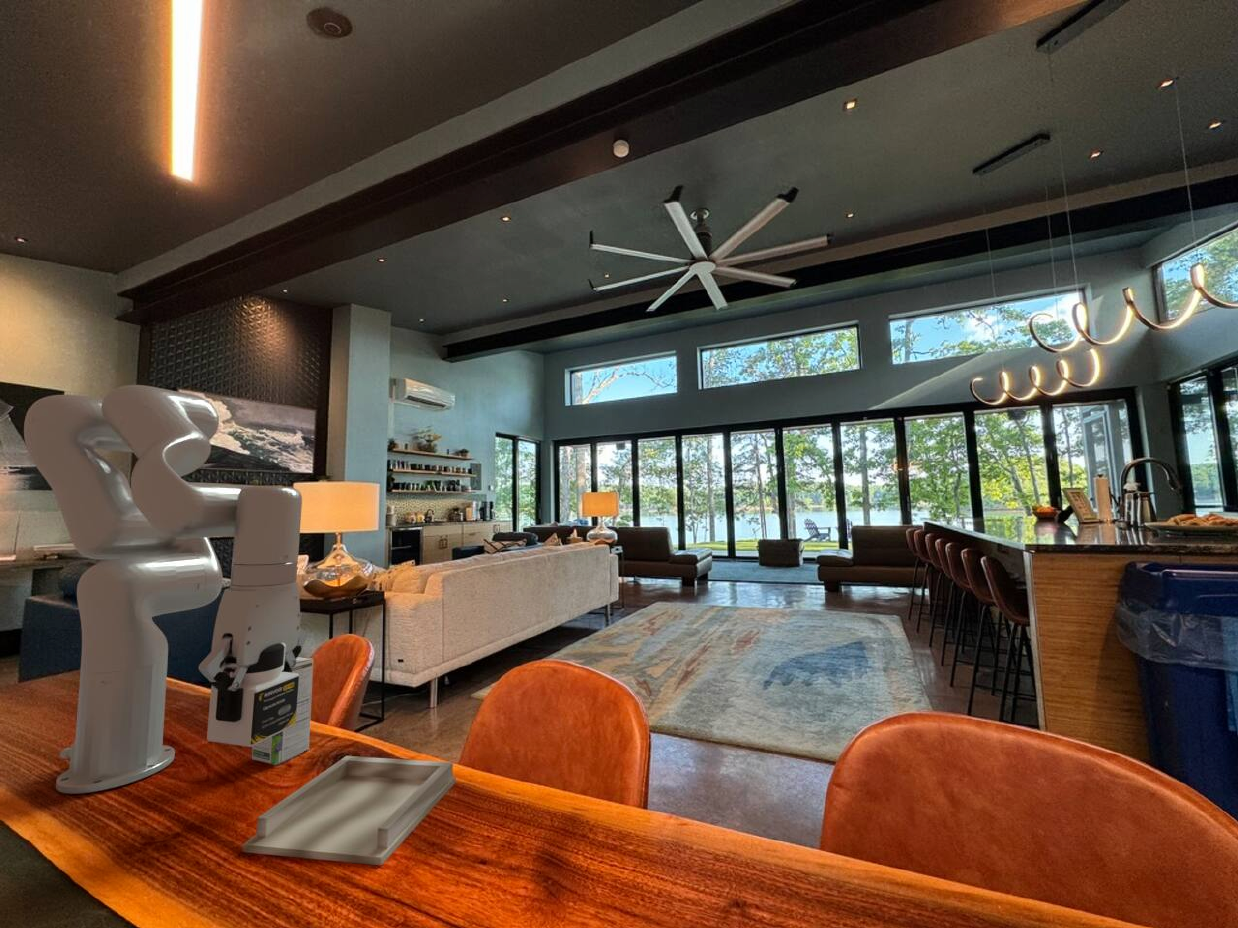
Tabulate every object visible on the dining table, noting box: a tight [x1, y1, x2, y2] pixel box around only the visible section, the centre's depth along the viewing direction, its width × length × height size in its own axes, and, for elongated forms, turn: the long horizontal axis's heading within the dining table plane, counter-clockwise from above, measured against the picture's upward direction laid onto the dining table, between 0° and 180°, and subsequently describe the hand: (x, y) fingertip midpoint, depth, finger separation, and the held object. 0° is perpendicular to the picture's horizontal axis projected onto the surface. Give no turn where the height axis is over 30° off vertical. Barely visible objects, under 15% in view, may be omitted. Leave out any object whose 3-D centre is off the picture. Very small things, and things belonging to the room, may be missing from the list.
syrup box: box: [251, 656, 314, 766], centre depth 82 cm, size 6×6×14 cm
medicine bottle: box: [206, 643, 299, 748], centre depth 70 cm, size 7×7×12 cm
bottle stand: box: [242, 755, 457, 866], centre depth 65 cm, size 17×17×3 cm
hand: (255, 707), depth 70 cm, fingers closed on medicine bottle, 7 cm apart
